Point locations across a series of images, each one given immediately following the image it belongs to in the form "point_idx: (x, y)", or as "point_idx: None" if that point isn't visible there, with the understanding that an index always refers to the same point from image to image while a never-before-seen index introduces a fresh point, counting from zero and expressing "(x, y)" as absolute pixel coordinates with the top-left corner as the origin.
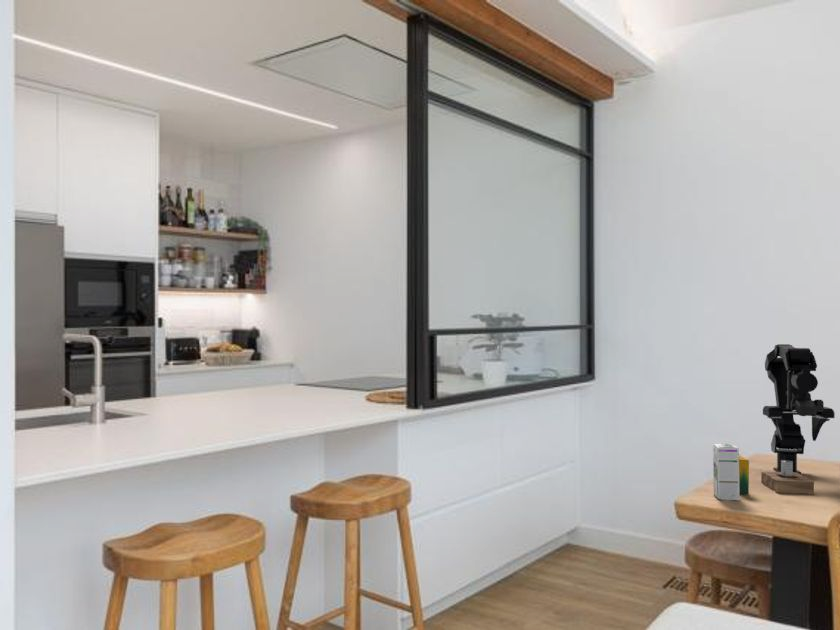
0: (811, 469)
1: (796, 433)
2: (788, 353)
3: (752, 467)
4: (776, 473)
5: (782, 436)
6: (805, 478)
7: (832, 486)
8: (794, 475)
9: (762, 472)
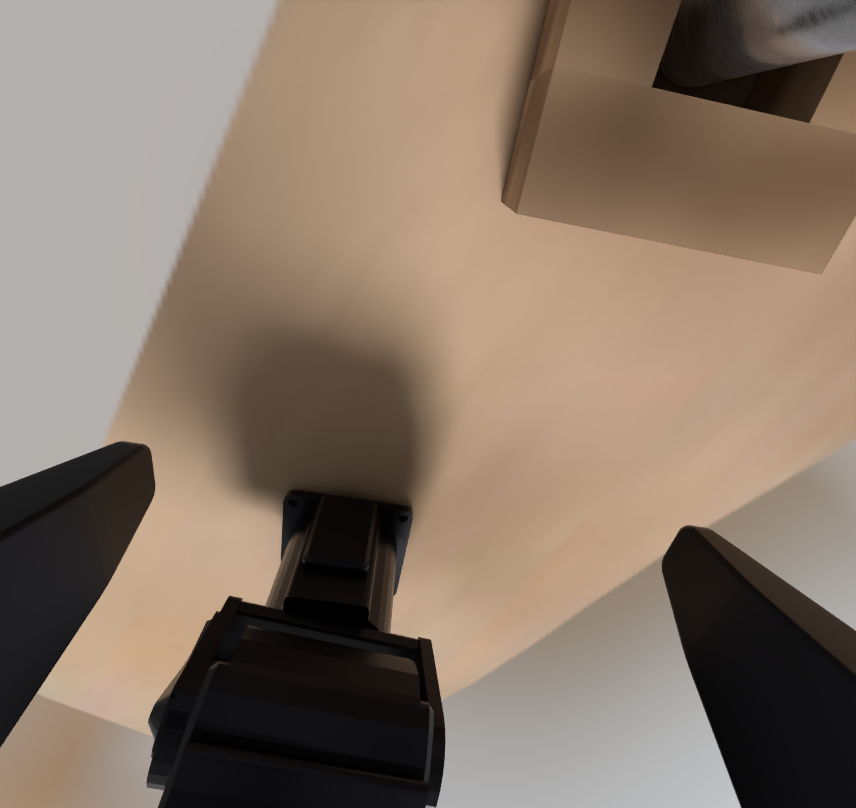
0: (172, 581)
1: (228, 796)
2: None
3: (479, 625)
4: (757, 172)
5: (752, 566)
6: None
7: (237, 103)
8: (646, 51)
9: (836, 242)
